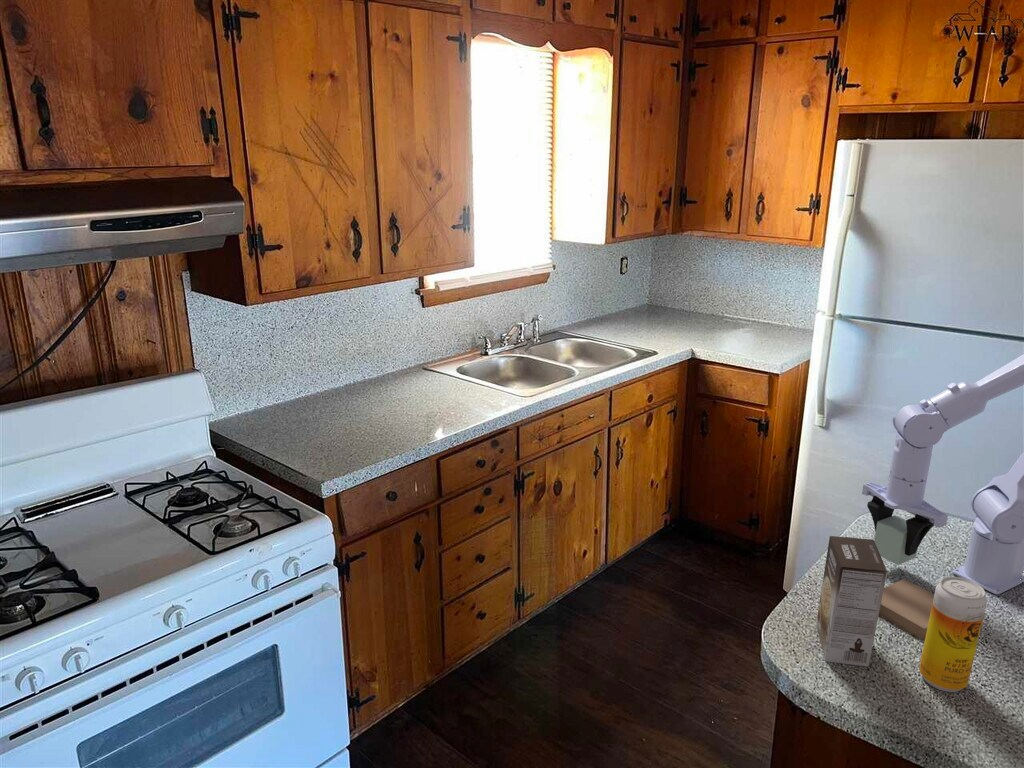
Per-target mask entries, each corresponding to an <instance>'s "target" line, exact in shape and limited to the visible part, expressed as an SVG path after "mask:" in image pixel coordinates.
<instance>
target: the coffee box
mask: <svg viewBox="0 0 1024 768" xmlns="http://www.w3.org/2000/svg"><path fill="white" fill-rule="evenodd" d="M828 539H829V540H828V545H827V553H826V558H825V565H824V571H823V578H822V585H821V589H820V597H819V604H818V611H817V615H816V623H815V624H816V626H815V627H816V631H817V635H818V638H819V641H820V646H821V649H822V653H823V657H824V661H825V662H827V663H836V664H842V665H843V664H844V665H853V666H859V667H860V666H861V667H869V666H870V662H871V657H872V652H873V646H874V642H875V641H874V640H875V635H876V631H877V625H878V620H879V616H880V615H879V611H880V606H881V601H882V595H883V590H884V588H885V584H886V580H887V573H888V570H887V567H886V566H885V563H884V561H883V557H881V556H880V553H879V551H878V549H877V546H876V544H875V542H874V539H869V538H859V537H848V536H834V535H829V538H828Z"/></svg>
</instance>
